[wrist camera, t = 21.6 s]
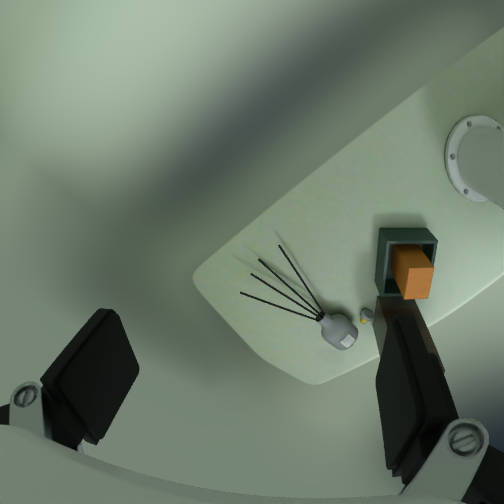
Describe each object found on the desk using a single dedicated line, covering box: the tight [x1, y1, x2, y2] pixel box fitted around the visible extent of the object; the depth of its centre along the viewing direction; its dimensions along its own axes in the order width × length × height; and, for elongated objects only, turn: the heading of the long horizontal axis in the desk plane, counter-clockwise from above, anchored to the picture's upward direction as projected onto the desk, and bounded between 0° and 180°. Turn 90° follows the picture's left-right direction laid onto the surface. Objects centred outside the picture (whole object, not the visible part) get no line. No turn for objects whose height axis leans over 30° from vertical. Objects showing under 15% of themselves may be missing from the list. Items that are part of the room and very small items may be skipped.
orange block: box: [390, 244, 434, 299], centre depth 38 cm, size 4×4×8 cm
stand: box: [373, 296, 445, 373], centre depth 39 cm, size 6×6×17 cm
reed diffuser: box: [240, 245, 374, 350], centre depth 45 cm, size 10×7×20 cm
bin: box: [375, 228, 438, 297], centre depth 40 cm, size 8×8×4 cm
